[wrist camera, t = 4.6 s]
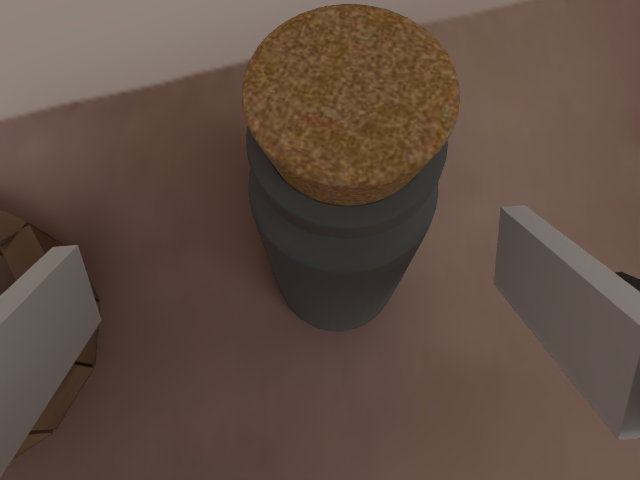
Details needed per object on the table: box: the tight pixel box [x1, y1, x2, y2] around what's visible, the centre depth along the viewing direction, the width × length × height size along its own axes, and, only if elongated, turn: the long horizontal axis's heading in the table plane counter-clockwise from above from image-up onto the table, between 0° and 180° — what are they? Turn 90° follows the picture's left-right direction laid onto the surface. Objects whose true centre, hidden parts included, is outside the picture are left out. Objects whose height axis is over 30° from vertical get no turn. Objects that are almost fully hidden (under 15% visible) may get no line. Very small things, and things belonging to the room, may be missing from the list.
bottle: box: [242, 4, 460, 331], centre depth 17 cm, size 6×6×15 cm
